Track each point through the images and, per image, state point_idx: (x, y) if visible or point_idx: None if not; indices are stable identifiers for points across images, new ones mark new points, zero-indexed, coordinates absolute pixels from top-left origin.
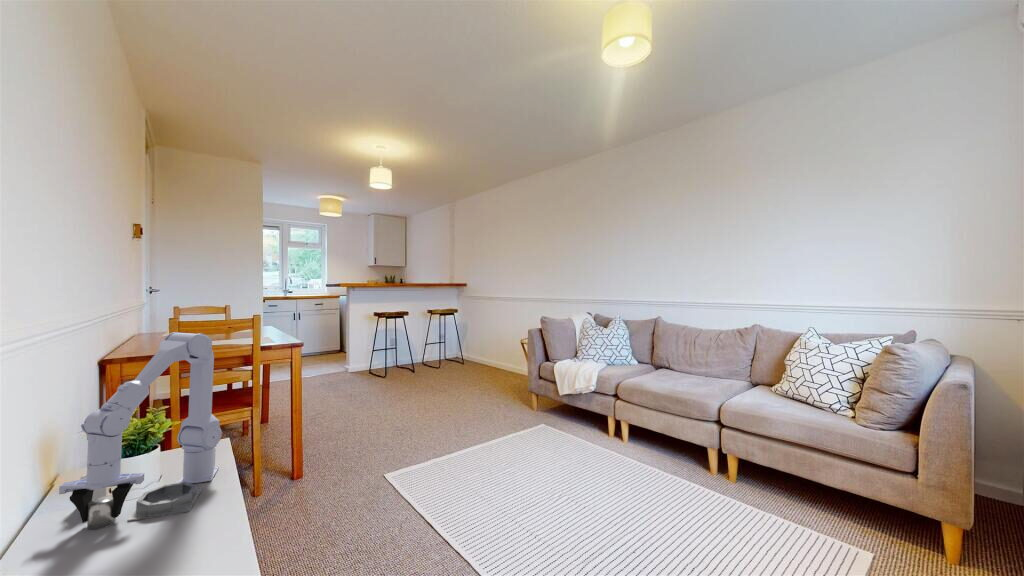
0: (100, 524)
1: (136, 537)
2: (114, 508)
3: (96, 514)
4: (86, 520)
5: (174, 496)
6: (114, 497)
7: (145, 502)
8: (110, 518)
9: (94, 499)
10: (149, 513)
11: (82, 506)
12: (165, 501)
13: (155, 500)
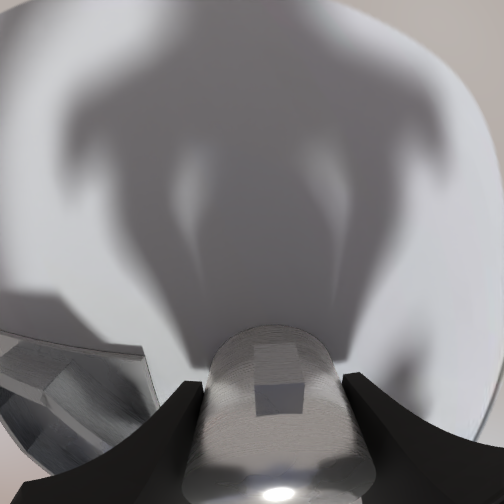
0: (252, 341)
1: (35, 160)
2: (169, 420)
3: (269, 371)
4: (345, 381)
5: None
6: (121, 494)
7: (82, 432)
8: (210, 377)
9: (358, 500)
10: (62, 364)
11: (410, 444)
12: (8, 387)
13: None
